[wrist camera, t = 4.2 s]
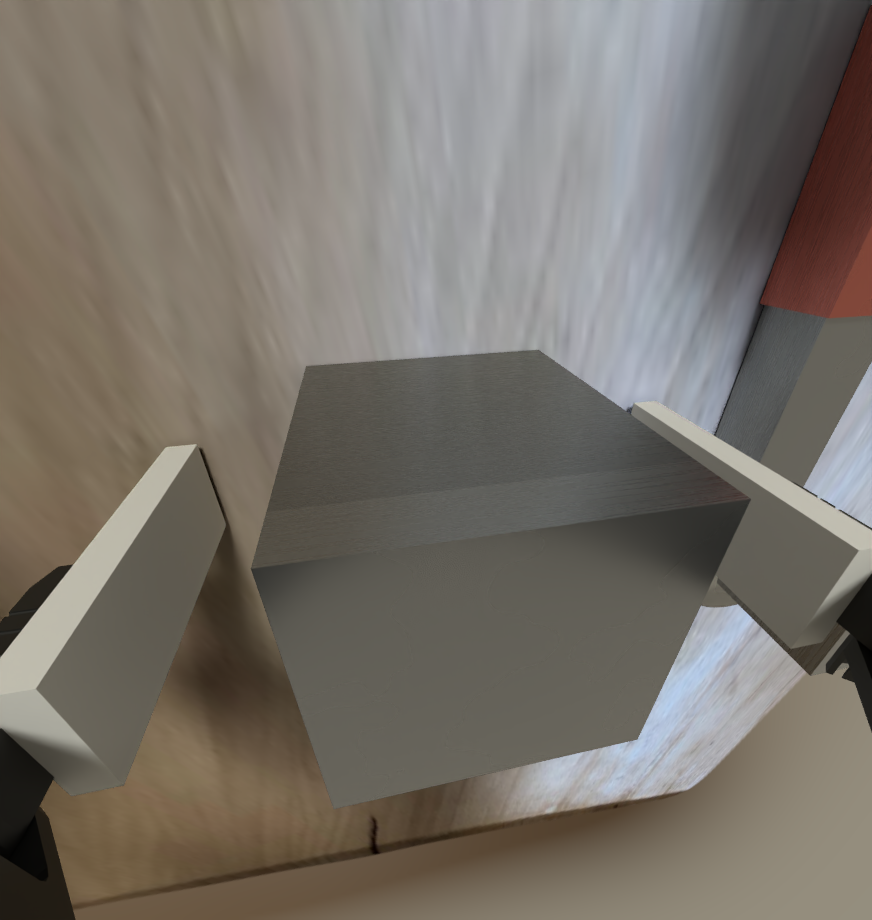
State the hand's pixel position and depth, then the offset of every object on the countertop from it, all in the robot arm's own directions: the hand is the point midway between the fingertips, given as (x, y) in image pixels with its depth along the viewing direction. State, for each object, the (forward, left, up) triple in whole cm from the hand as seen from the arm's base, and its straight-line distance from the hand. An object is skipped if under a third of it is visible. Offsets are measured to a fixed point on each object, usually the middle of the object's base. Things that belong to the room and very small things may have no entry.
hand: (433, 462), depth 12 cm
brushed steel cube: (0, 0, 0) cm, 0 cm away
